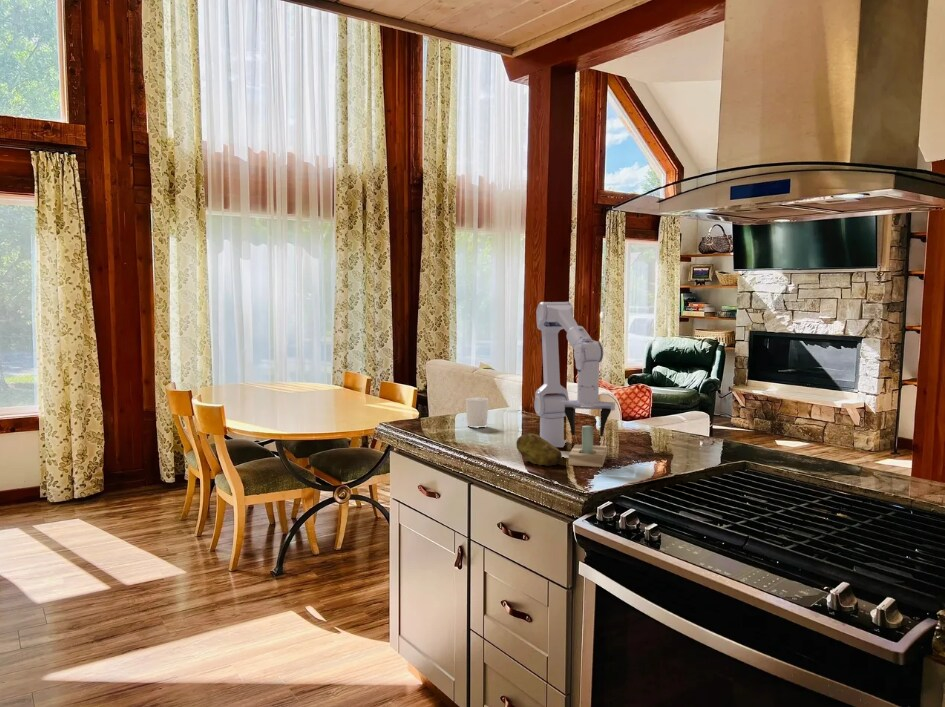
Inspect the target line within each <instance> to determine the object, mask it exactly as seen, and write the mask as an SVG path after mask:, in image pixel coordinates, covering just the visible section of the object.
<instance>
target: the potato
mask: <svg viewBox="0 0 945 707" xmlns="http://www.w3.org/2000/svg"><path fill="white" fill-rule="evenodd" d="M516 450H518V452H519V453H520V455H521V456H522V457H523V458H524V459H527V460H528V461H529V462H530V464H533V465H535V464H538V465H537V466H541V465H545V466H544V467H553V466H552V465H554V466H556V465H558V464H560V463H561V462H562V460H563V458H562V454H561V452H560V451H561V450H560V449H558V447H554V446H553V445H551V444H550V443H549V442H548V441H546V440H544V439H543V438H541V437H540V435H538V434H535V433H532V432H529V433H524V434H522V435H521V436H519V437H518V438H517V440H516Z"/></svg>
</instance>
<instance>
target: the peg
mask: <svg viewBox="0 0 945 707" xmlns="http://www.w3.org/2000/svg"><path fill="white" fill-rule="evenodd" d="M581 445H582V453H584V454H593V445H594V426H592V425H582V426H581Z"/></svg>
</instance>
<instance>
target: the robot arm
mask: <svg viewBox="0 0 945 707" xmlns="http://www.w3.org/2000/svg"><path fill="white" fill-rule="evenodd" d="M535 314H536V315H535V316H536V327H537V330H539V331H541V346H542V347H541V348H542V350H541V352H542V367H543V368H542V370H543V383H542V385H541V386H540V387H539V388H537V390H535V393H534V395H535V396H534V402H533V403H534V404H533V408H534V412H535V414H536V415H537V416H539V417H540V418H539V436H540V437H541V438H543V439H544V440H546V441H548V442H549V443H550V444H551V445H553V446H554V447H556V448H564V446H565V445H566V444H565V443H567V441H568V440H566V439H564V436H565V435H564V434H565V430H564V428H565V426H564V425H565V422H564V421H565V420H564V419H565V418H567V422H568V424H569V427H570V432H571V436H575V434H576V409H583V410H600V429H599V437H603V436H604V431H605V426H606V424H607V421H608V418H609V416H610V414H611V412H612V411H615V410H616V402H613V401H612V402H611V401H610V402H609V401H601V400H600V401H599V398H600V397H599V388H600V387H599V386H600V384H599V383H600V381H599V380H600V363H601V362H602V361H603V359H604V349H603V348H604V347H603V346H602V342H600V341H596V340H593V338H592V337H591V336H590V334H589V333H588V332H587V330H586V329H585V328H584V326H582V325H578V322H577V321H576V319H575V317H574V306H573V304H572V303H571V302H570V301H552V302H551V301H541V302H539V303H538V305H537V307H536V313H535ZM561 330H564V331H565V332H566V341H568V343H569V345H570V346H571V347H572V350H574V351H573V357H574V360H575V369H577V395H576V397H577V398H576V399H577V400H574V399H572V400H570V399H569V392H568V390H567V388H566V387H564V386H563V385H561V378H560V377H561V375H560V374H561V373H560V355H559V354H560V353H559V333H560V331H561ZM564 417H565V418H564Z"/></svg>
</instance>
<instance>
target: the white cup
mask: <svg viewBox="0 0 945 707" xmlns="http://www.w3.org/2000/svg"><path fill="white" fill-rule="evenodd" d="M465 410H466V413H465V414H466V421H467V422H466V423H467V427H468V426H485V425H487V424H488V413H489V398H488V397H479V396H476V397H467V398H465ZM487 426H488V425H487Z"/></svg>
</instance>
